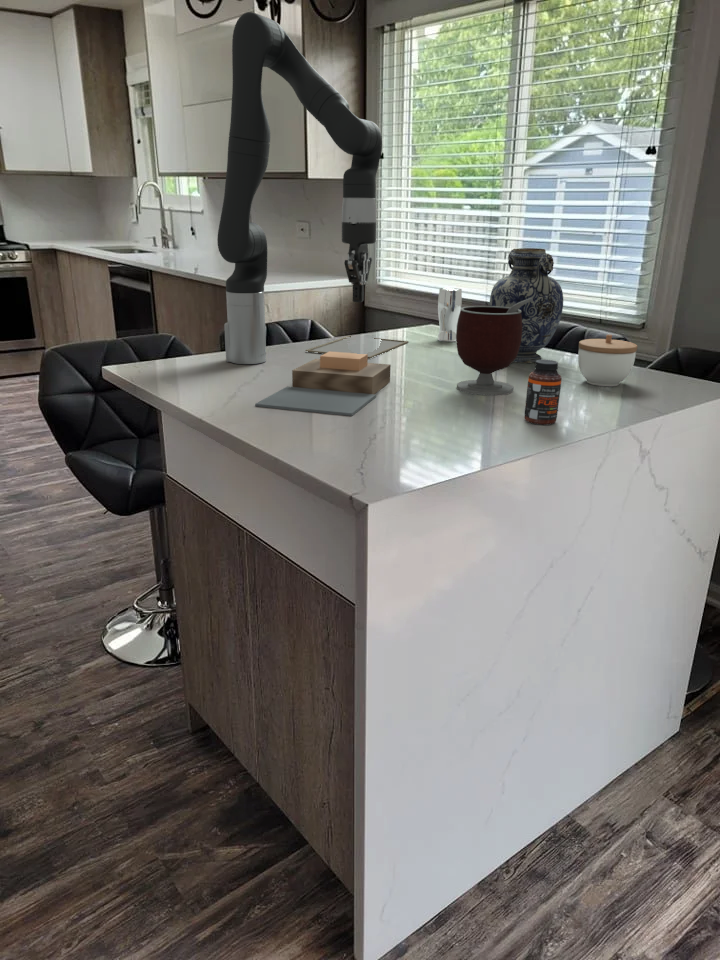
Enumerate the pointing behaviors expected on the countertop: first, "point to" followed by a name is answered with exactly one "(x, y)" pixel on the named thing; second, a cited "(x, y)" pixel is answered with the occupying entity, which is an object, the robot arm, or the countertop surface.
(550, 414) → the supplement bottle
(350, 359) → the tan rectangular block
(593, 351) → the lidded bowl
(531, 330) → the decorative vase
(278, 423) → the countertop surface
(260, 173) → the robot arm
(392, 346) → the picture frame
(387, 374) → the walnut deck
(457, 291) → the beer glass
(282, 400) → the slate mat
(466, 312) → the mate gourd
